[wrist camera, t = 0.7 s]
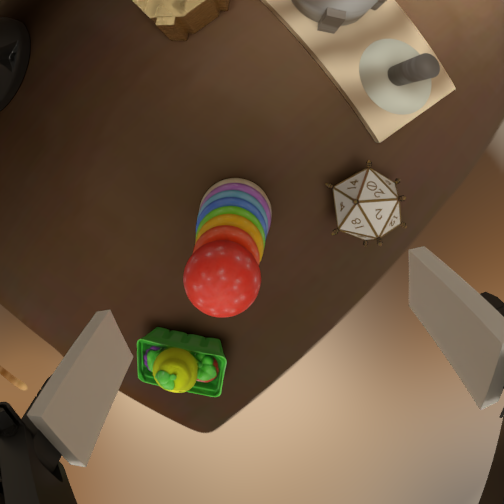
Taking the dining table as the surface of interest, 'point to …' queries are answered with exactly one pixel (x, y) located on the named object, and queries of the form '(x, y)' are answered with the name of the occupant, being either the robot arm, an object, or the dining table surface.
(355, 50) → the gear board
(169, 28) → the brass gear
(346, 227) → the game die
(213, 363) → the fruit basket
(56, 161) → the dining table surface
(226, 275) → the stacking toy
